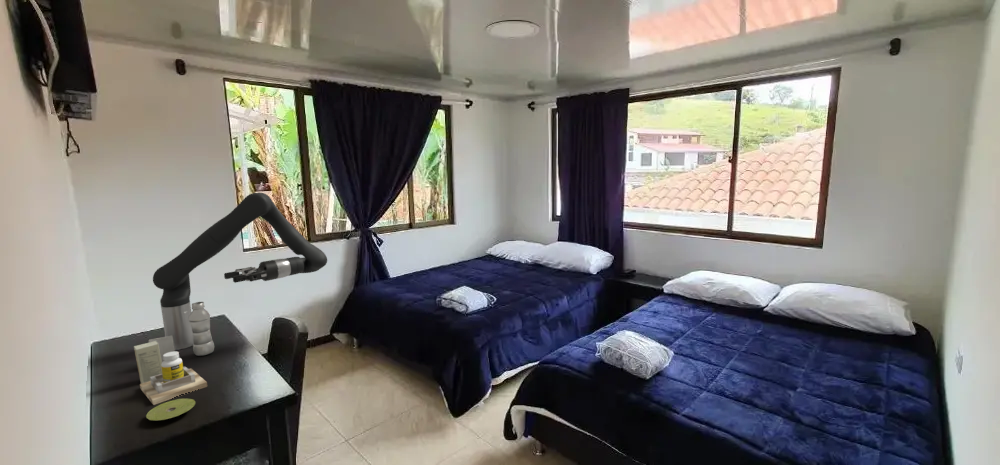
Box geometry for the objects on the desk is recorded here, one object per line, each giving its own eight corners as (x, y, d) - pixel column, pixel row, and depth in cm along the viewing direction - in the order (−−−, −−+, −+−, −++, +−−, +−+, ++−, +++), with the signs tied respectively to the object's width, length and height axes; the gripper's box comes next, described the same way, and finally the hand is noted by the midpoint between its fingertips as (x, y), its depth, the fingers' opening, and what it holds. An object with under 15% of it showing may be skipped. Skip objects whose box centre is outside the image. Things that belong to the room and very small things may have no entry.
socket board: (140, 388, 141) (138, 376, 140) (191, 372, 152) (190, 361, 151) (153, 405, 131) (151, 392, 130) (207, 386, 141) (205, 374, 141)
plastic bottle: (215, 354, 166) (208, 303, 163) (193, 359, 162) (186, 307, 159) (214, 349, 171) (208, 299, 168) (193, 353, 167) (186, 302, 164)
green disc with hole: (184, 400, 133) (183, 394, 133) (204, 410, 127) (203, 404, 127) (139, 419, 123) (138, 413, 123) (158, 430, 118) (157, 424, 117)
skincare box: (162, 374, 151) (157, 340, 149) (164, 378, 148) (159, 343, 146) (138, 380, 147) (133, 345, 145) (140, 385, 144) (134, 349, 142)
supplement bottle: (173, 387, 138) (169, 358, 136) (159, 386, 139) (155, 356, 138) (188, 379, 143) (185, 350, 142) (175, 378, 144) (171, 349, 143)
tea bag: (175, 363, 159) (171, 337, 158) (152, 368, 156) (148, 341, 154) (176, 359, 162) (172, 334, 161) (153, 364, 159) (149, 338, 157)
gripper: (266, 257, 175) (220, 265, 163) (282, 262, 166) (235, 270, 154) (268, 276, 176) (222, 285, 164) (284, 281, 167) (237, 291, 155)
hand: (228, 278), depth 159 cm, fingers open, 8 cm apart
